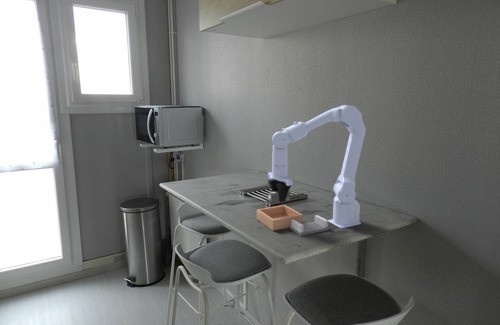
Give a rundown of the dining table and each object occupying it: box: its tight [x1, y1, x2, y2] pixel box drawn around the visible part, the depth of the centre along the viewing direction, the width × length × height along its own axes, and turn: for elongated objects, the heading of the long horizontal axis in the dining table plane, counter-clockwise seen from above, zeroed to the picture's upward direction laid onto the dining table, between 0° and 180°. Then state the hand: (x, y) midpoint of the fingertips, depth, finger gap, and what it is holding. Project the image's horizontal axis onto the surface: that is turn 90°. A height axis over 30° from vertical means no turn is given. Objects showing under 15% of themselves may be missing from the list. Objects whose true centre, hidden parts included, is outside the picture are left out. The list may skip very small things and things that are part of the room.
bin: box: [256, 204, 304, 232], centre depth 126 cm, size 13×13×4 cm
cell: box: [267, 190, 292, 204], centre depth 124 cm, size 8×4×4 cm, turn 116°
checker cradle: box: [289, 214, 330, 237], centre depth 119 cm, size 12×7×4 cm, turn 116°
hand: (279, 199), depth 125 cm, fingers closed on cell, 4 cm apart
